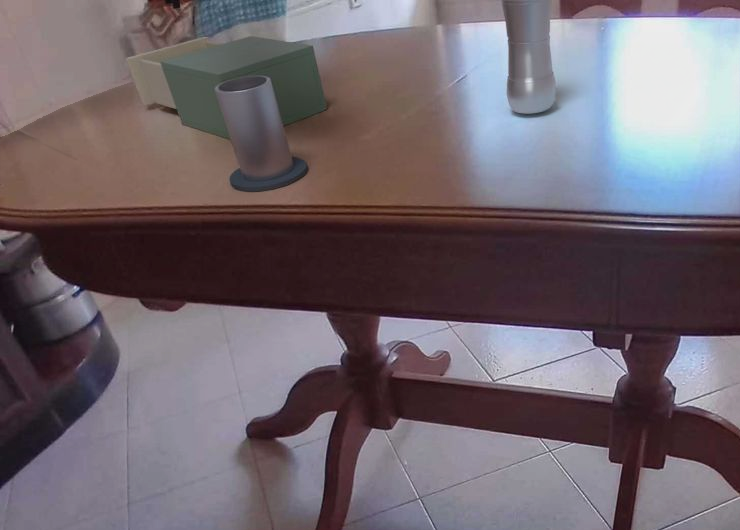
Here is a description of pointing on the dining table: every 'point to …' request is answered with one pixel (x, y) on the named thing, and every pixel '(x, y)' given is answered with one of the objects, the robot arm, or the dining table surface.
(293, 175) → the coaster
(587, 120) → the dining table surface
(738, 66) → the dining table surface
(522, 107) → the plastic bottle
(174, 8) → the robot arm
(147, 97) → the drawer
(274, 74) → the green box
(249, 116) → the gray cup
